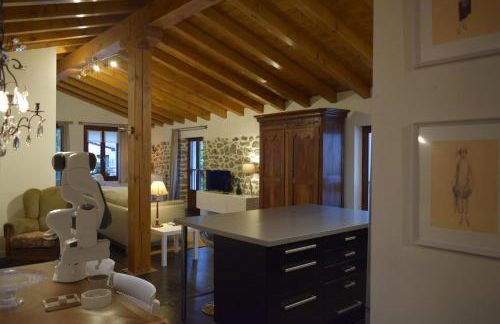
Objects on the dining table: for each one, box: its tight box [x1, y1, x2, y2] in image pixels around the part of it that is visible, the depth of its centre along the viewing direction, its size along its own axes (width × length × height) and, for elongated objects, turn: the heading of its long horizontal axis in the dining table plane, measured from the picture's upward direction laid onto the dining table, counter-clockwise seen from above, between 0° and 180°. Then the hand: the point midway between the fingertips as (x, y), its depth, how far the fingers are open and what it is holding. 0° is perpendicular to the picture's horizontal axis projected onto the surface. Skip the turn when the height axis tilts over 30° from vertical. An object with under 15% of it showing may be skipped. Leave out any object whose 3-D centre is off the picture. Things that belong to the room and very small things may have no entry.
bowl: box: [80, 288, 113, 310], centre depth 167 cm, size 12×12×5 cm
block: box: [58, 295, 67, 304], centre depth 165 cm, size 4×3×4 cm
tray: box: [41, 292, 82, 312], centre depth 167 cm, size 12×14×2 cm
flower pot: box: [87, 273, 110, 290], centre depth 180 cm, size 9×9×9 cm
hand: (86, 271), depth 167 cm, fingers open, 8 cm apart
